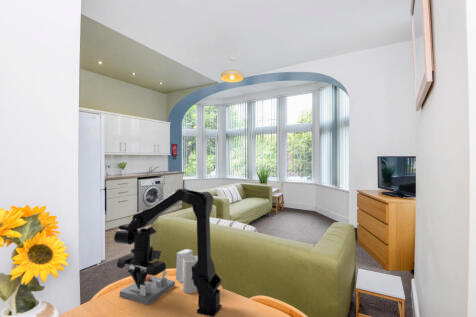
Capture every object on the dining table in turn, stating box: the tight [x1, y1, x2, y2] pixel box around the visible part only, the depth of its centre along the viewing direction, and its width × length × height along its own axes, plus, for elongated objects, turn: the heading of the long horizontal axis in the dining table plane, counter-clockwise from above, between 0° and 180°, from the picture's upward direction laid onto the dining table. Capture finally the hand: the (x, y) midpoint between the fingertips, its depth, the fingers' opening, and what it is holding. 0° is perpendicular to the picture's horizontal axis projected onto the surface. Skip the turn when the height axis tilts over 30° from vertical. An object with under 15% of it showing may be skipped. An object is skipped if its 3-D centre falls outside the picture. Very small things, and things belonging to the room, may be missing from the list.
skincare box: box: [175, 248, 194, 283], centre depth 97 cm, size 6×4×12 cm
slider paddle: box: [140, 281, 152, 296], centre depth 80 cm, size 2×3×4 cm
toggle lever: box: [159, 270, 168, 284], centre depth 87 cm, size 2×2×6 cm
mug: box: [182, 255, 198, 294], centre depth 90 cm, size 10×7×12 cm, turn 175°
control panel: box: [119, 275, 176, 306], centre depth 86 cm, size 14×14×4 cm
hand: (140, 288), depth 81 cm, fingers closed
